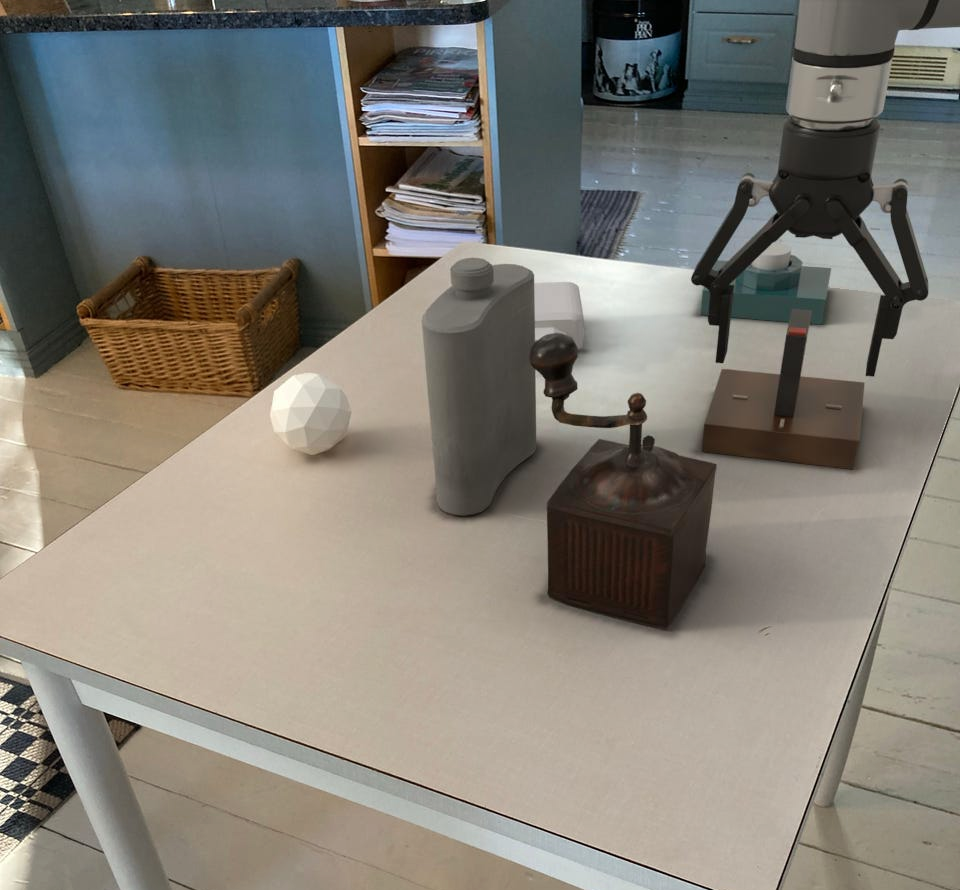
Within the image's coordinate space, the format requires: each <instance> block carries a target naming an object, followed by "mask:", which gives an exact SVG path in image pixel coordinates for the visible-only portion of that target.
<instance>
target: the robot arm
mask: <svg viewBox="0 0 960 890" xmlns="http://www.w3.org/2000/svg"><path fill="white" fill-rule="evenodd" d="M948 28H949V29H951V28H960V0H799V4H798V15H797V22H796V33H795V41H794V47H793V55H792V58H791V64H790V72H789V80H788V82H789V83H788V87H787V88H788V89H787V97H786V103H785V111H786V112H787V113H788V115H789V116H790V117H788V118H787V120H786V121H785V122H784V123H783V127H782V128H783V129H782V136H781V143H780V152H779V159H778V166H777V174H776V176H775V177H774V179H773V180H769V179H762V178H756V177H755V175H754V174H753V173H751V172H746V173H744V174H743V175H742V176H741V179H740V180H739V184H738V186H737V189H736V194H735V198H734V202H733V204H732V206H731V208H730V209H729V211H728V213H727V214H726V216H725V217H724V219H723V221H722V222H721V224H720V226H719V228H718V229H717V231H716V233H715V234H714V236H713V237H712V238H711V240H710V242H709V244H708V246H707V248H706V249H705V251H704V252H703V254H702V256H701V257H700V259H699V261H698V262H697V264H696V266H695V267H694V270H693V272H692V275H691V277H690V282H691V284H693V285H694V286H696V287H697V286H702V287H703V288H704V287H706V288H707V289H708V290H709V292H710V301H709V312H708V315H707V322H708V325H709V326H715V327H718V332H717V344H716V351H715V352H716V353H715V363H716V364H724V363H725V360H726V356H727V354H728V349H729V348H728V347H729V340H730V339H729V338H730V331H731V321H732V317H731V312H732V303H733V294H734V285H729V284H730V283H732V282H733V281H734V280H735V279H736V278H737V277H738V276H739V275H740V274H741V273H742V272H743V271H744V270H745V269H746V268H747V267H748V266H749V265H750V264H751V263H752V262H753V261H754V260H755V259H756V258H758V257H759V256H760V255H761V254H762V253H763V252H764V251H765V250H766V249H767V248H768V247H769V246H770V245H771V244H772V243H773V242H777V241H778V240H779V239H780V238H781V237H782V236H783V235H784V234H785V233H786V232H787V231H788V232H789V233H790V234H792V235H794V237H795V238H799V239H800V238H802V239H803V238H804V239H805V238H810V237H817V238H819V239H823V240H833V238H836V237H838V236H840V235H843V237H844V239H845V240H846V241H847V243H848V244H849V246H850V247H852V248H853V250H854V251H855V253H856V254H857V256H858V257H859V258H860V260H861V262H862V263H863V264H864V266H865V268H866V269H867V271H868V272H869V274H870V275H871V277H872V278H873V280H874V281H875V282H876V284H877V285H878V287H879V289H880V291H882V293H883V294H880V296H879V301H878V307H877V311H876V316H875V320H874V326H873V330H872V336H871V341H870V346H869V350H868V356H867V359H866V368H865V377H872V378H874V377H875V375H876V370H877V366H878V362H879V361H878V360H879V356H880V352H881V347H882V343H883V339H884V340H894V339H895V337H896V336H897V335H898V330H899V327H900V321H901V317H902V313H903V308H904V306H905V305H906V304H907V303H909V302H912V301H924V300H926V299H927V298H928V297H929V279H928V276H927V275H928V274H927V272H926V269H925V266H924V261H923V259H922V255H921V252H920V249H919V245H918V242H917V238H916V235H915V232H914V228H913V225H912V222H911V218H910V215H909V211H908V208H907V206H908V196H909V195H908V194H909V184H908V181H907V180H906V179H904V178H898V179H896V180H895V181H894V182H893V183H887V184H885V183H884V184H874V182H873V180H872V174H873V173H872V172H873V167H874V163H875V162H874V161H875V158H876V157H875V156H876V152H877V145H878V140H879V134H880V130H881V124H880V123H879V121H878V119H877V117H878V116H880V115H881V114H882V113H883V111H884V107H885V103H886V96H887V90H888V86H889V81H890V75H891V69H892V63H893V59H894V54H895V47H896V40H897V38H898V35H899V32H900V31H919V30H923V29H924V30H925V29H929V30H930V29H948ZM764 197H768V198H769V200H770V202H771V204H772V206H773V208H774V209H775V211H776V212H775V213H774V214H773V215H772V216H771V217H770V218H769V219H768V221H767V222H765V224H764V225H763V226H762V227H761V228H760V229H759V230H758V231H757V232H756V233H755V234H754V235H753V236H752V237H750V239H749V240H747V242H746V243H745V244H744V245H743V246H742V247H741V248H740V249H739V250H738V251H737V252H736V253H735V254H734V255H733V256H732V257H731V258H729V260H727V261H728V262H727V263H726V264H725V265H724V266H723V267H722V268H721V269H720V270H719V271H718V270H717V271H715V270H713V269H712V268H713V266H714V264H715V263H716V261H717V260H719V258H720V256H721V255H722V253H723V252H724V250H725V248H726V247H727V245H728V244H729V242H730V241H731V239H732V237H733V235H734V234H735V232H736V231H737V229H738V228H739V226H740V224H741V222H742V221H743V219H744V217H745V216H746V213H747V210H748V208H751V207H752V208H754V207H756V206H758V204H759V203H760V202H761V199H763V198H764ZM872 202H876V203H878V205H879V206H880V210H881V211H882V213H885V214H890V224H891V228H892V231H893V234H894V237H895V238H894V239H895V241H896V244H897V248H898V251H899V253H900V257H901V260H902V264H903V268H904V270H905V274H906V276H907V277H906V278H907V280H908V281H906V282H903V281H902V280H901V278H900V277H899V275H898V274H897V272H896V270H895V269H894V268H893V266H892V264H891V263H890V262H889V260H888V258H887V257H886V255H885V254H884V252H883V251H882V249H881V248H880V246H879V245H878V243H877V241H876V240H875V239H874V237H873V236H872V234H871V232H870V230H868V227H867V225H866V223H865V221H864V219H863V218H862V217H861V214H862V213H863V212H864V211H865V210H866V209H867V208H868V207H869V206H870V205H871V204H872Z"/></svg>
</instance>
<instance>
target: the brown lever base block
mask: <svg viewBox="0 0 960 890" xmlns="http://www.w3.org/2000/svg"><path fill="white" fill-rule="evenodd" d="M779 378H780V373H771V372H770V373H769V372H759V371H751V370H750V371H748V370H738V369H729V368H721V370H720V373H719V375H718V379H717V383H716V385H715V388H714V391H713V394H712V398H711V401H710V404H709V408H708V410H707V414H706V417H705V420H704V423H703V429H702V439H701V447H700V448H701V452H702V453H711V454H720V455H728V456H736V457H745V458H754V459H763V460H769V461H777V462H778V461H779V462H780V461H781V462H788V463H796V464H805V465H813V466H822V467H831V468H839V469H845V470H847V469H848V470H854V468H855V464H856V459H857V455H858V449H859V446H860V438H861V429H862V418H863V406H864V405H863V404H864V394H865V382H864V381H854V380H844V379H843V380H842V379H833V378H823V377H814V376H813V377H812V376H803V375H801V378H800V384H799V390H798V395H797V401H796V406H795V411H794V416H793V417H785V416H776V415H774V411H775V404H776V398H777V391H778V385H779Z"/></svg>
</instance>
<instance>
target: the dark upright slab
mask: <svg viewBox="0 0 960 890" xmlns="http://www.w3.org/2000/svg"><path fill="white" fill-rule="evenodd" d="M811 313H812V310H801V309H792V312H791V316H790V320H789V322H788V325H787V330H786V332H785V333H786V334H785V340H784V345H783V346H784V347H783V352H782V359H781V365H780V372H779V374H780V378H779V385H778V391H777V398H776V404H775V411H774V415H776V416H785V417H793V416H794V411H795V406H796V401H797V395H798V390H799V384H800V378H801V376H802V371H803V367H804V360H805V355H806V348H807V343H808V336H809V330H810V325H811V324H810V319H811Z"/></svg>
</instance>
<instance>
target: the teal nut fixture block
mask: <svg viewBox="0 0 960 890" xmlns="http://www.w3.org/2000/svg"><path fill="white" fill-rule="evenodd" d="M728 261H729V260H720V259H718V260H717V261H716V263H715V264H714V266H713V268H712V269H713V270H715V271H717V270H718V271H719V270H720V269H721V268H722V267H723V266H724V265H725V264H726V263H727V262H728ZM831 272H832V267H823V266H807V265H803V261H802V260H801V259H800V258H798V257H797V256H796V255H795V254H794V255H793V254H791V256H790V262H789V267H788V268H786V269H780V270H762V269H759V268H755V267H752V266H751V264H750V265H749V266H748V267H747V268H746V269H745V270H744V271H743V272H742V273H741V274H740V275H739V276H738V277H737V278H736V279H735V280H734V281H733V282H732V283H730V284H729V285H734V294H733V303H732V312H731V318H734V319H748V320H749V319H750V320H757V321H758V320H759V321H773V322H782V323H783V322H784V323H789V320H790V316H791V312H792V309H801V310H812V313H811V319H810V325H823V318H824V314H825V313H824V312H825V308H826V301H827V296H828V290H829V284H830V278H831ZM701 292H702V293H701V302H700V313H699V314H700V315H701V316H708V312H709V301H710V292H709V290H708V289H707V288H706V287H704V286H703V289H702V291H701Z"/></svg>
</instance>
